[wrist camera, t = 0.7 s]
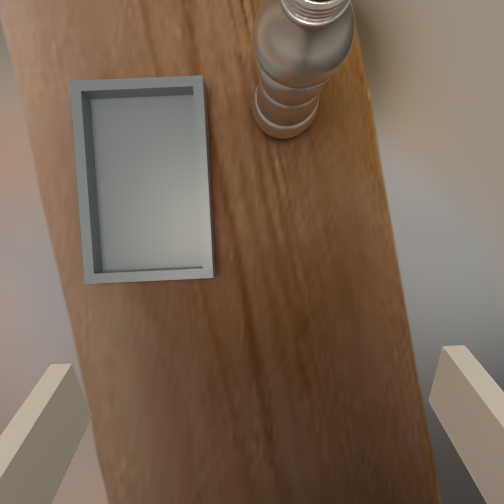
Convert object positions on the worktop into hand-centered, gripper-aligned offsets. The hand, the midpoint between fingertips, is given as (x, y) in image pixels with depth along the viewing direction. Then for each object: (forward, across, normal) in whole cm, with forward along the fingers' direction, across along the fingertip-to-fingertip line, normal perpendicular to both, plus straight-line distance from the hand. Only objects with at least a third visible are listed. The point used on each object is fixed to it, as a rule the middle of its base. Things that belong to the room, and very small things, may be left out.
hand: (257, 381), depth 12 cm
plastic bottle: (+30, -4, -7) cm, 31 cm away
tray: (+27, +11, 0) cm, 29 cm away
